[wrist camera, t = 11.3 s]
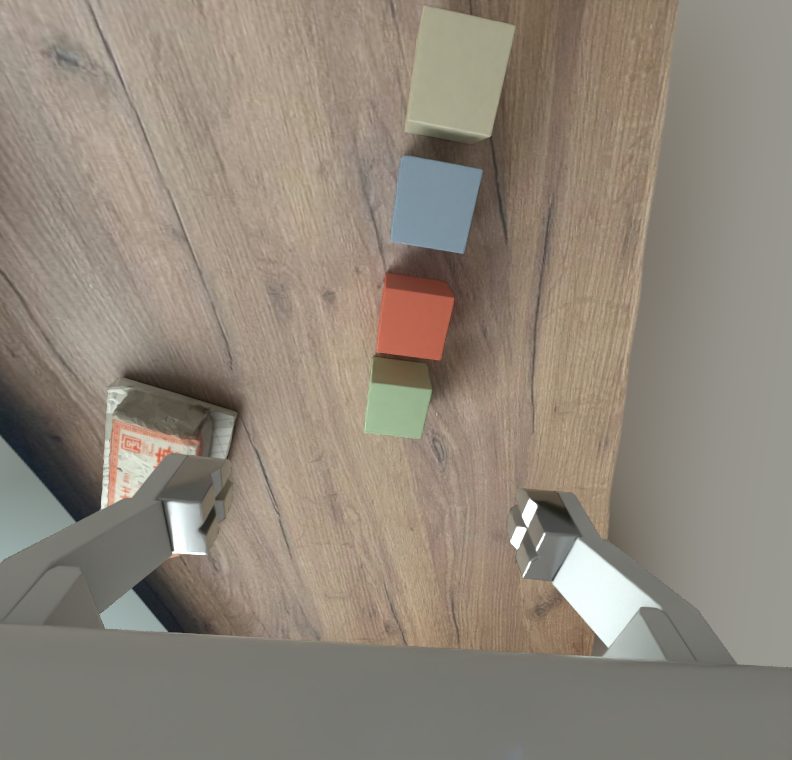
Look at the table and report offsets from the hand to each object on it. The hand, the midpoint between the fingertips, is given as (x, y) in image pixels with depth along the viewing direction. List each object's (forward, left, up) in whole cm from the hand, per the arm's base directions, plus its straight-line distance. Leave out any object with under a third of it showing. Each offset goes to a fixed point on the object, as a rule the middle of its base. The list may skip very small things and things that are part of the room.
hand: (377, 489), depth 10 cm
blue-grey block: (-7, +2, -20) cm, 21 cm away
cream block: (-13, +2, -20) cm, 24 cm away
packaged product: (+19, -18, -20) cm, 33 cm away
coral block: (0, +2, -20) cm, 20 cm away
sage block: (+7, +2, -20) cm, 21 cm away
